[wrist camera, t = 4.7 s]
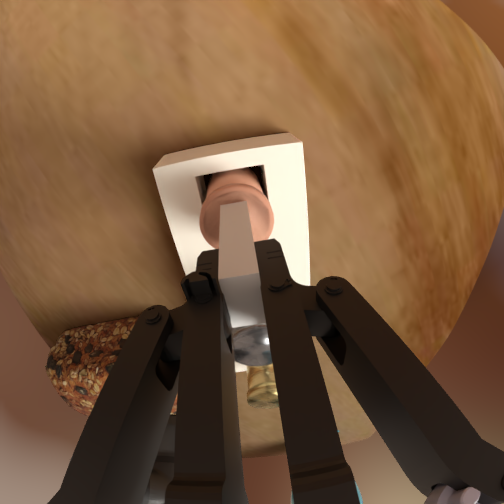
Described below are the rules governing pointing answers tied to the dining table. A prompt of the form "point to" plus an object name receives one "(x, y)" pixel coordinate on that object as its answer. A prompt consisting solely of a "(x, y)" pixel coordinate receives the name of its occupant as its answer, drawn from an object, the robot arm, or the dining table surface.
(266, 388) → the brass plug
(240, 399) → the dining table surface
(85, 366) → the bread
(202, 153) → the slab
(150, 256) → the dining table surface
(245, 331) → the grey plug
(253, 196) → the terracotta plug
